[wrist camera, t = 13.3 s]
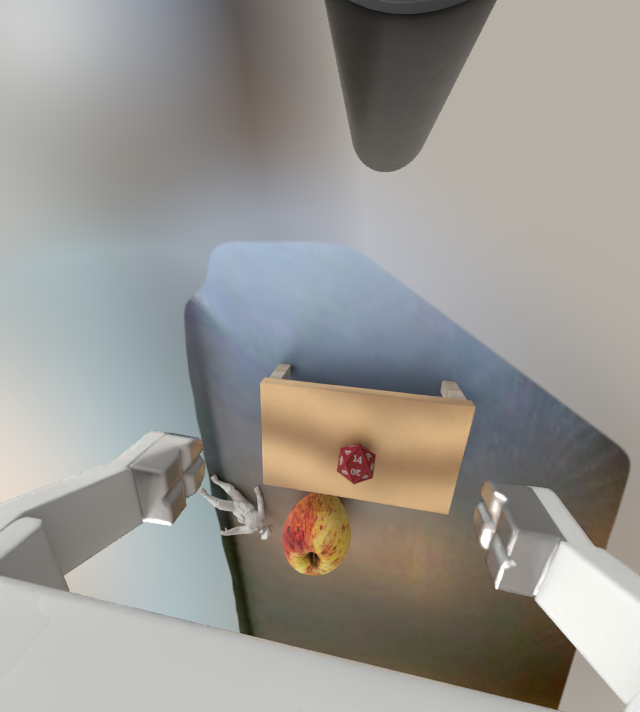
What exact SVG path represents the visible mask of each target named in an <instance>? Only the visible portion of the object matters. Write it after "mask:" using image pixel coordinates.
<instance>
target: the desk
mask: <svg viewBox="0 0 640 712" xmlns="http://www.w3.org/2000/svg"><path fill="white" fill-rule="evenodd" d="M290 376H291V365H290V364H279V365H278V367H277V368H276V369H275V370H274V372H273V373H272V374H271V375H270V377H269V378H266V377H265V378H264V379H263V380H262V382H261V383H260V387H261V418H262V449H263V480H264V484H266V485H272V486H278V487H284V488H291V489H297V490H303V491H309V492H315V493H321V494H327V495H333V496H339V497H345V498H351V499H358V500H364V501H370V502H376V503H382V504H388V505H394V506H400V507H406V508H412V509H418V510H425V511H431V512H437V513H443V514H448V513H449V509H450V505H451V501H452V497H453V494H454V490H455V486H456V482H457V478H458V474H459V471H460V467H461V463H462V459H463V455H464V451H465V448H466V444H467V440H468V436H469V432H470V428H471V425H472V421H473V417H474V413H475V409H476V407H475V405H474V404H473V402H472V401H471V400H467V399H466V398H465V396H464V394H463V393H462V391H461V390H460V388H459V386H458V385H457V383H456V382H454V381H445V380H443V381H442V386H441V390H440V392H441V394H442V396H443V397H436V396H427V395H418V394H409V393H400V392H391V391H382V390H374V389H365V388H356V387H347V386H338V385H329V384H320V383H311V382H302V381H293V380H288V379H289V377H290ZM358 443H359V444H360V445H362V446H363V447H365V448H367V449H368V450H370V451H371V452H373V453H374V454H376V458H375V465H374V473H373V478H372V479H369V480H366V481H362V482H359V483H356V484H353V483H352V482H350V481H349V480H348V479H346V478H345V477H344V476H343V475H341V474H340V473H339V472H337V466H338V460H339V453H340V448H342V447H346V446H350V445H354V444H358Z"/></svg>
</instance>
